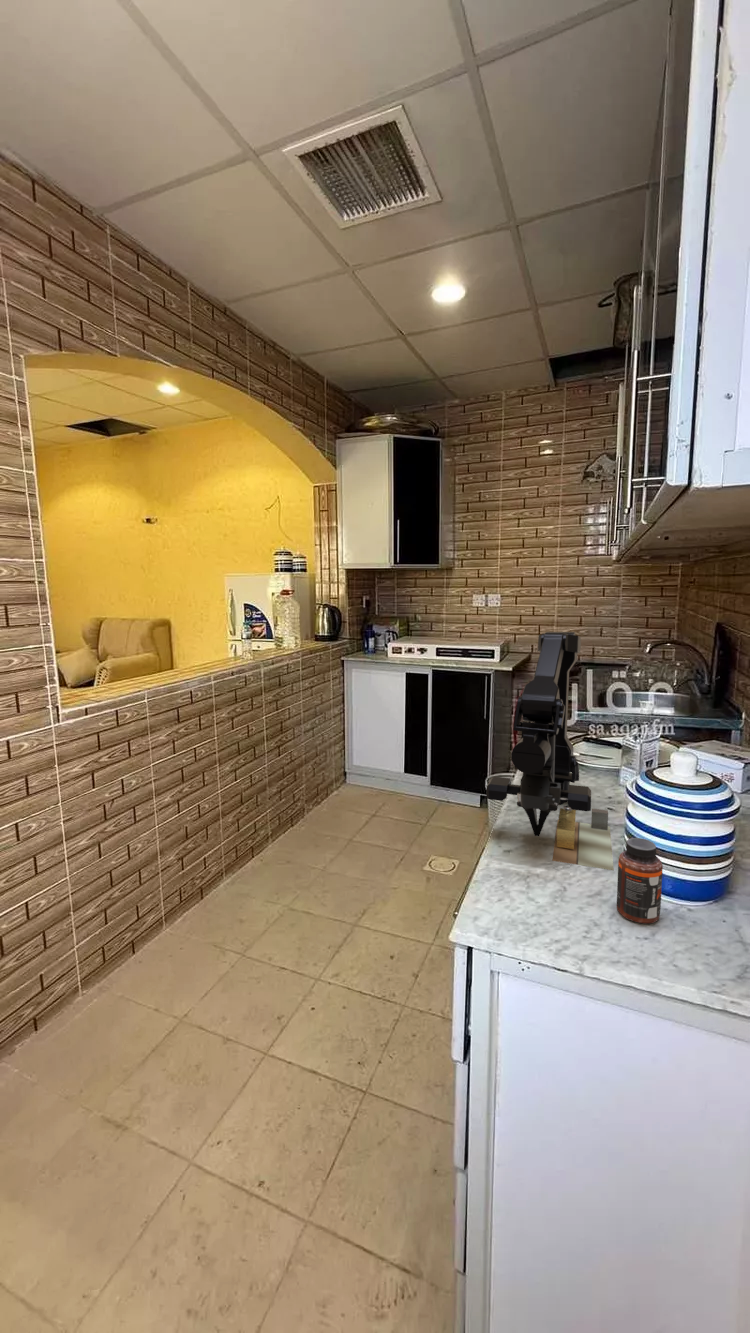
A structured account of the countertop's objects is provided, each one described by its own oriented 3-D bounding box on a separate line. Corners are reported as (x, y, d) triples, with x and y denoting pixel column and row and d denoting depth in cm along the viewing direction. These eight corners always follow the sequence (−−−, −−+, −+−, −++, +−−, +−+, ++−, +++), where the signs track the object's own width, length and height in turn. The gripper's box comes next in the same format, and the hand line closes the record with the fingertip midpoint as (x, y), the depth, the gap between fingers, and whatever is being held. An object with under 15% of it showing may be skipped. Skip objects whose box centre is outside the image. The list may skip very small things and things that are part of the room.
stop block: (591, 824, 107) (591, 808, 107) (607, 827, 106) (607, 810, 106) (591, 828, 106) (591, 811, 105) (607, 830, 105) (608, 813, 104)
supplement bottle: (665, 928, 76) (670, 854, 75) (621, 923, 78) (625, 851, 76) (652, 904, 82) (656, 835, 81) (612, 900, 83) (615, 833, 82)
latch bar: (559, 824, 107) (560, 804, 107) (575, 826, 106) (575, 806, 106) (556, 846, 98) (557, 824, 97) (573, 849, 97) (574, 827, 96)
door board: (557, 825, 110) (557, 819, 110) (609, 832, 107) (609, 826, 106) (552, 866, 94) (552, 860, 94) (613, 876, 90) (613, 870, 90)
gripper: (481, 765, 95) (480, 846, 97) (592, 776, 88) (589, 863, 90) (491, 748, 105) (491, 822, 108) (592, 757, 98) (589, 835, 101)
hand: (537, 835), depth 101 cm, fingers closed
